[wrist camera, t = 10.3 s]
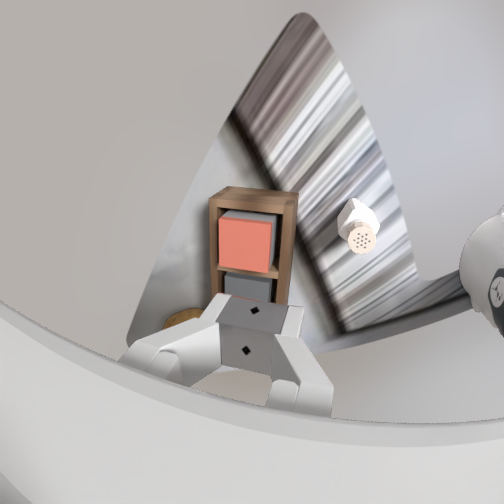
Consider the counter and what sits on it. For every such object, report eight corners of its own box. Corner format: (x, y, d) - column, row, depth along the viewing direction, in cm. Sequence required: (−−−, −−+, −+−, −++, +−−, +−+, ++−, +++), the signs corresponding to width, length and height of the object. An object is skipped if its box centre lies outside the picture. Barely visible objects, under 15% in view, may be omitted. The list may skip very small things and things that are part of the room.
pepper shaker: (351, 194, 37) (357, 215, 29) (374, 211, 37) (387, 236, 29) (335, 218, 39) (336, 245, 31) (358, 234, 39) (365, 264, 31)
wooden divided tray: (298, 193, 39) (292, 206, 33) (287, 304, 47) (279, 332, 41) (227, 186, 41) (209, 198, 35) (227, 294, 49) (212, 319, 43)
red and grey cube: (279, 209, 38) (270, 225, 32) (276, 252, 40) (267, 273, 35) (234, 205, 39) (218, 218, 34) (233, 246, 41) (219, 265, 36)
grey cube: (277, 262, 43) (269, 283, 38) (274, 297, 46) (266, 320, 40) (237, 256, 44) (224, 275, 39) (237, 291, 47) (225, 312, 41)
